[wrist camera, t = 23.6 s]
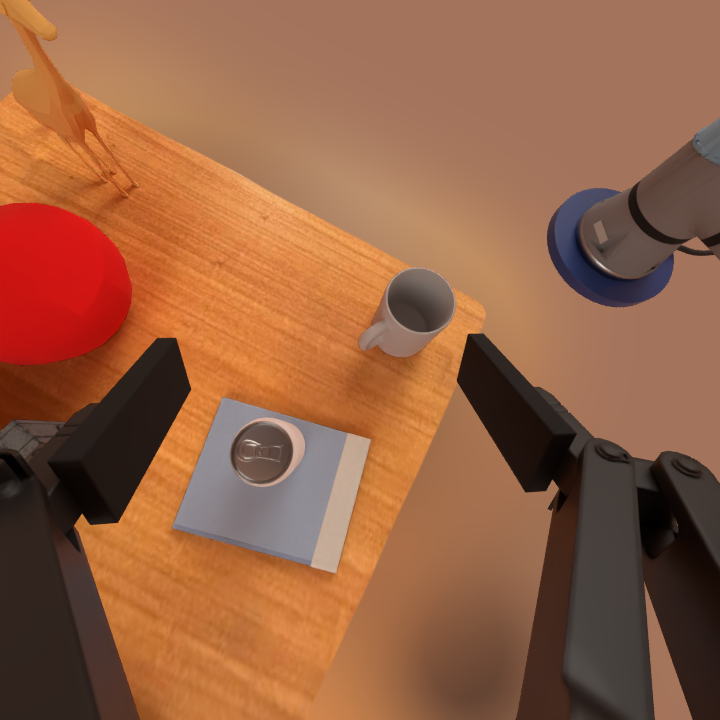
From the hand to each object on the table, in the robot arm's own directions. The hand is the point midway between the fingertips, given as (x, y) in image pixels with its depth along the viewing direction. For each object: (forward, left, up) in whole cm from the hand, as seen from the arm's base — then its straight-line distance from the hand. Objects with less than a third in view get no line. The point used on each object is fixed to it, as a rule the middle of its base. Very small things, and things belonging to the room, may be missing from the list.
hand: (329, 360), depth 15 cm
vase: (+35, -4, -30) cm, 46 cm away
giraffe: (+37, -23, -30) cm, 53 cm away
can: (+4, +6, -29) cm, 30 cm away
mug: (-6, -13, -30) cm, 33 cm away
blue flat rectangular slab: (+3, +10, -30) cm, 32 cm away
